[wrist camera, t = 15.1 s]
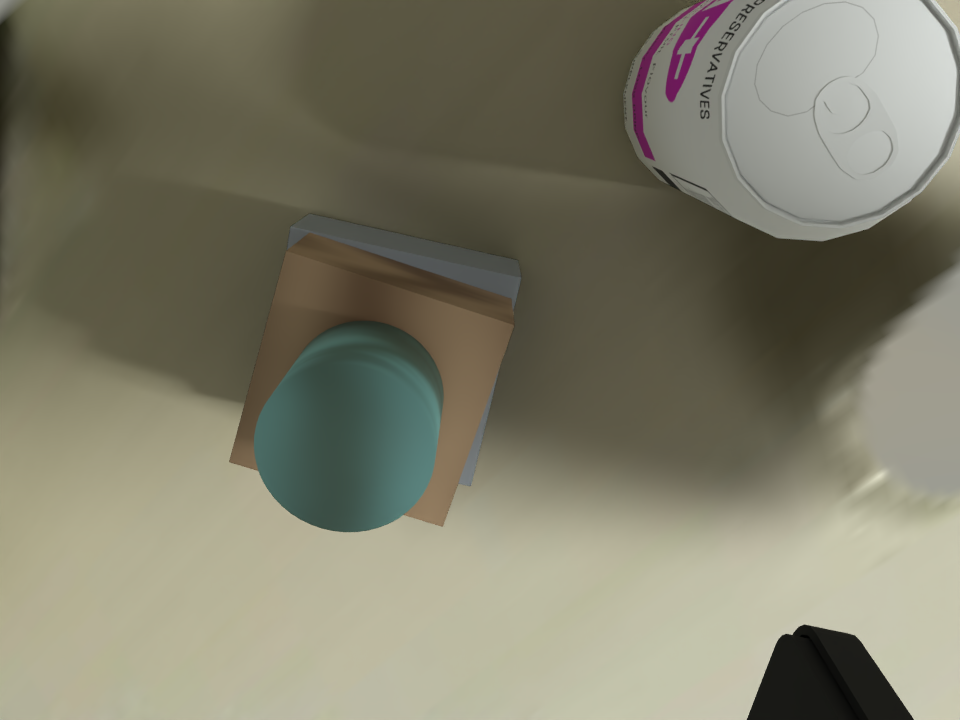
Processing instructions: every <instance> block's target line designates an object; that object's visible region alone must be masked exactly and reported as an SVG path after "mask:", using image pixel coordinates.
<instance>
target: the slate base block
mask: <svg viewBox="0 0 960 720" xmlns="http://www.w3.org/2000/svg"><path fill="white" fill-rule="evenodd" d="M308 233H313V234H316V235H319V236H322V237H325V238H328V239H331V240H335V241H338V242H341V243H344V244H347V245H350V246H353V247H356V248H359V249H362V250H365V251H368V252H371V253H374V254H377V255H380V256H383V257H386V258H389V259H392V260H395V261H398V262H401V263H404V264H407V265H411V266H414V267H417V268H420V269H423V270H426V271H429V272H432V273H435V274H438V275H441V276H444V277H447V278H450V279H453V280H456V281H459V282H462V283H465V284H468V285H471V286H474V287H477V288H480V289H483V290H487V291H490V292H493V293H496V294H499V295H502V296H505V297H508V298H511V299H512V307H513V311H514V307H515V303H516V299H517V294H518V290H519V286H520V282H521V273H520V268H519V263H518V260H514V259H510V258H505V257H501V256H496V255H492V254H488V253H483V252H479V251H474V250H470V249H465V248H461V247H456V246H452V245H447V244H443V243H439V242H434V241H430V240H425V239H421V238H416V237H412V236H407V235H403V234H398V233H394V232H389V231H385V230H381V229H376V228H372V227H367V226H363V225H358V224H354V223H349V222H345V221H340V220H336V219H332V218H327V217H323V216H318V215H314V214H308V215H307V216H305V217H304V218H302V219H301V220H299V221H298V222H296V223H295V224H293V225H292V226H290V232H289V238H288V245H287V250H288V249H289V248H290V247H292V246H293V245H294V244H295V243H297V242H298V241H299V240H301V239H302V238H303V237H304V236H306V235H307V234H308ZM499 369H500V368H499ZM498 373H499V371H498ZM498 373H497V376H496V379H495V382H494V385H493V387H492V390H491V393H490V396H489V399H488V401H487V404H486V407H485V410H484V413H483V415H482V418H481V421H480V424H479V427H478V429H477V432H476V435H475V438H474V441H473V443H472V446H471V449H470V452H469V455H468V457H467V460H466V463H465V466H464V469H463V471H462V474H461V477H460V480H459V483H458V484H462V485H467V486H471V484H472V480H473V476H474V472H475V467H476V463H477V459H478V455H479V451H480V447H481V443H482V439H483V435H484V430H485V426H486V422H487V418H488V414H489V410H490V406H491V402H492V397H493V393H494V389H495V385H496V381H497V377H498Z"/></svg>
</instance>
